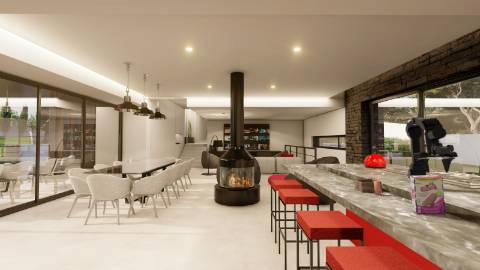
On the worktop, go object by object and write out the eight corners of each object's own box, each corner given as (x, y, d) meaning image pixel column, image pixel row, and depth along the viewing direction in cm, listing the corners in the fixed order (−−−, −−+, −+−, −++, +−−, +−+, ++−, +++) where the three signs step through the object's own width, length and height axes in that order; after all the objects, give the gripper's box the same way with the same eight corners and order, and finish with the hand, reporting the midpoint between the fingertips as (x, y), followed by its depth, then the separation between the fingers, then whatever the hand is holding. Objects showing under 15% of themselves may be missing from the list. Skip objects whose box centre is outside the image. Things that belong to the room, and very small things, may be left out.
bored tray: (355, 188, 171) (354, 179, 171) (373, 187, 170) (372, 178, 170) (362, 192, 159) (361, 182, 159) (382, 191, 158) (381, 181, 158)
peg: (375, 194, 153) (374, 180, 153) (381, 194, 151) (380, 180, 151) (374, 195, 151) (373, 181, 151) (380, 195, 149) (379, 181, 149)
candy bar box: (416, 214, 112) (413, 177, 113) (412, 211, 117) (409, 175, 117) (446, 214, 109) (442, 176, 110) (440, 211, 114) (437, 174, 114)
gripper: (424, 139, 123) (430, 172, 119) (464, 138, 122) (470, 171, 119) (410, 143, 133) (414, 173, 130) (446, 142, 133) (451, 172, 130)
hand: (437, 172), depth 127 cm, fingers open, 9 cm apart
